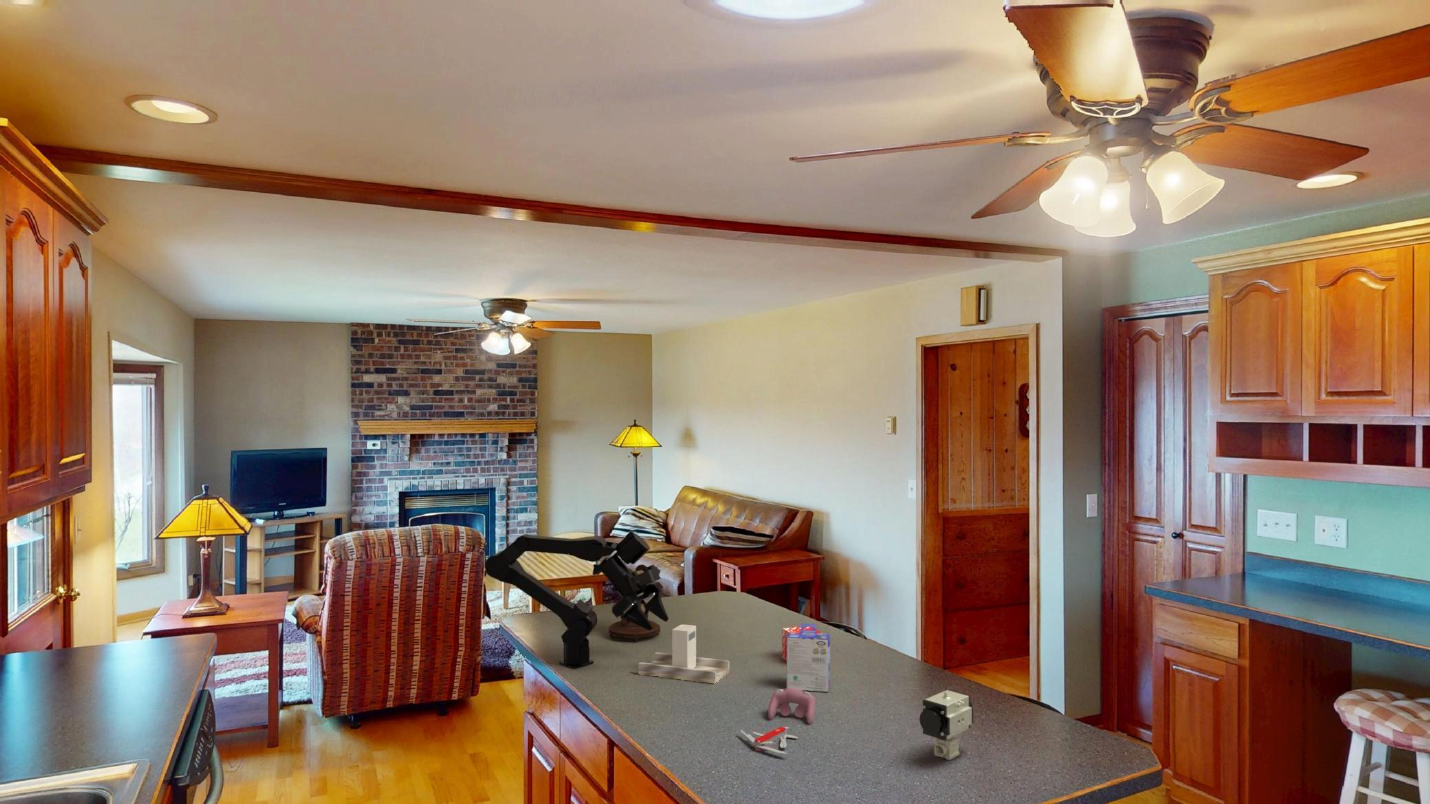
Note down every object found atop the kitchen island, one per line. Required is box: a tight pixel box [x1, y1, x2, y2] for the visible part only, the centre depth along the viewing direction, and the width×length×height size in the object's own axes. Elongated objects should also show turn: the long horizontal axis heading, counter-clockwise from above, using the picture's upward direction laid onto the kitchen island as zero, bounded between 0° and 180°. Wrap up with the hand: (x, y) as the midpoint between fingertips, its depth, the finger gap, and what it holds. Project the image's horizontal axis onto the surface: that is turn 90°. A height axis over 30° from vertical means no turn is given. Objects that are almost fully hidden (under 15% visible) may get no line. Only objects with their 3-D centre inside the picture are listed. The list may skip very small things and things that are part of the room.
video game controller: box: [767, 687, 817, 725], centre depth 176 cm, size 10×5×7 cm, turn 72°
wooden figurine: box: [608, 564, 661, 643], centre depth 240 cm, size 15×15×20 cm
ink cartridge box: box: [786, 622, 831, 693], centre depth 195 cm, size 10×6×14 cm, turn 78°
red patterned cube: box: [781, 626, 824, 662], centre depth 216 cm, size 8×8×8 cm
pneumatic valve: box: [919, 688, 974, 761], centre depth 157 cm, size 6×12×12 cm, turn 133°
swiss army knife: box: [739, 726, 799, 755], centre depth 163 cm, size 12×14×2 cm
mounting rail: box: [638, 651, 730, 685], centre depth 206 cm, size 20×10×3 cm, turn 69°
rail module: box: [671, 624, 697, 668], centre depth 206 cm, size 4×6×10 cm
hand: (659, 624), depth 208 cm, fingers open, 9 cm apart
